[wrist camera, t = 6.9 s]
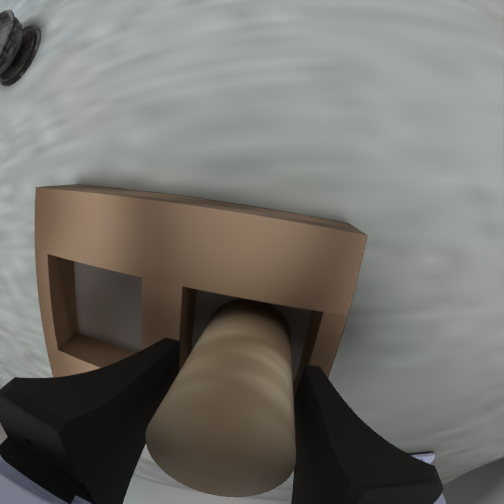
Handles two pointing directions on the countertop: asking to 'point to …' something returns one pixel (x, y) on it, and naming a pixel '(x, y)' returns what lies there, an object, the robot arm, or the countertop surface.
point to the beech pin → (231, 406)
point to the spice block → (183, 273)
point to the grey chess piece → (16, 47)
